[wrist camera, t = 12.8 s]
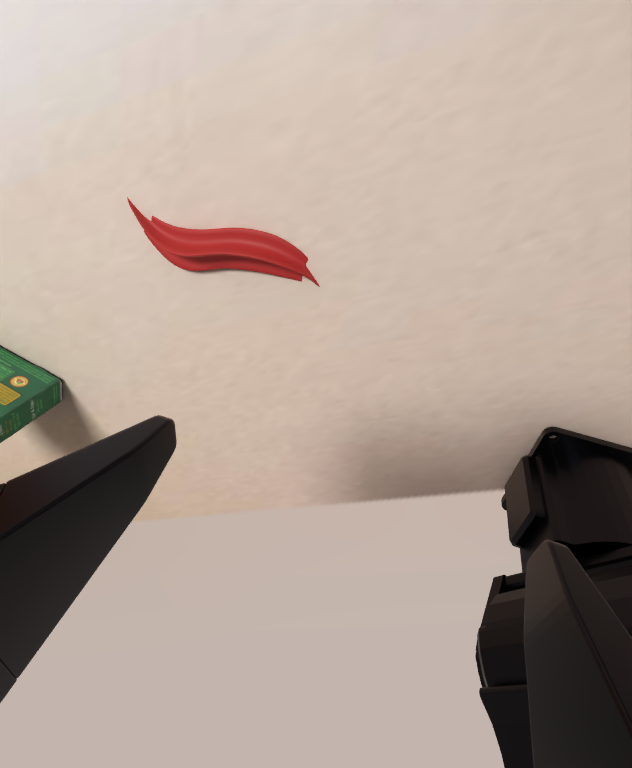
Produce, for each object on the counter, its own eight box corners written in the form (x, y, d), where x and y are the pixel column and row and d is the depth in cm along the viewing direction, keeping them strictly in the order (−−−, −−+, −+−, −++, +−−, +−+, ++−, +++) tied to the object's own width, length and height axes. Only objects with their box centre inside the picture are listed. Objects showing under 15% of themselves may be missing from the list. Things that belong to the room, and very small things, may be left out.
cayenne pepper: (122, 226, 24) (98, 234, 22) (135, 143, 21) (109, 146, 19) (302, 335, 24) (290, 350, 22) (338, 268, 21) (328, 280, 20)
